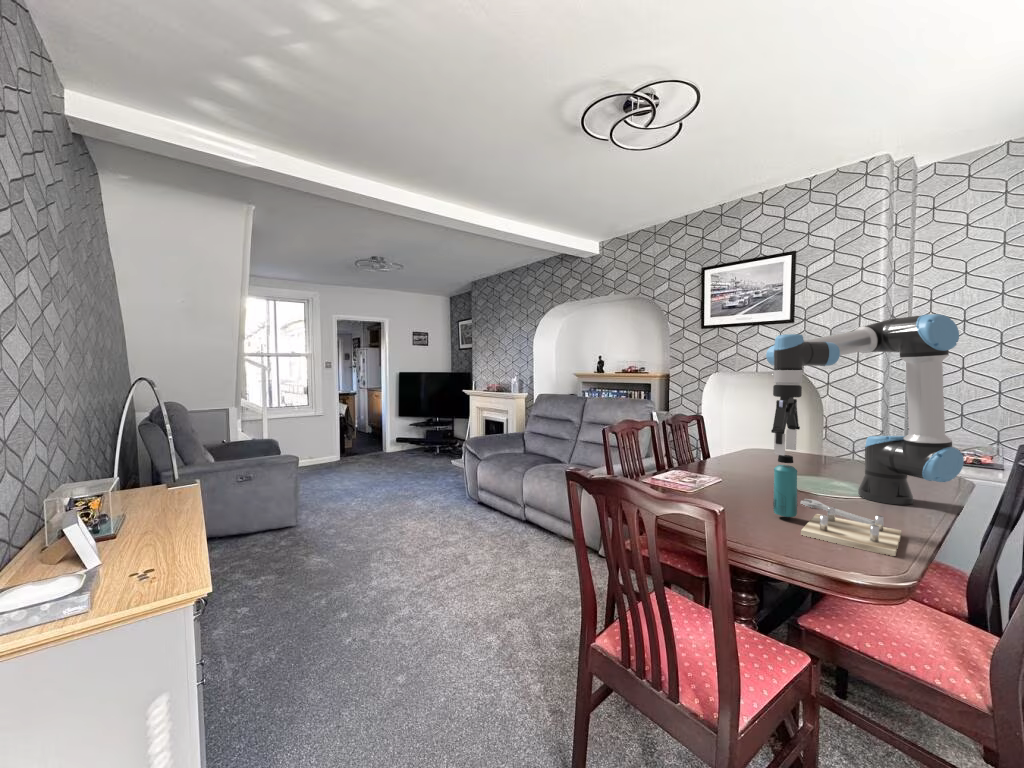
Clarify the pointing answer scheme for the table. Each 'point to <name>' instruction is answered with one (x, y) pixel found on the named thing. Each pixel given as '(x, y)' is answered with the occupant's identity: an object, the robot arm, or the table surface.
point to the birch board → (854, 535)
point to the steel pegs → (873, 528)
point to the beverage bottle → (785, 488)
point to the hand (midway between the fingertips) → (785, 452)
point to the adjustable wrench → (836, 511)
